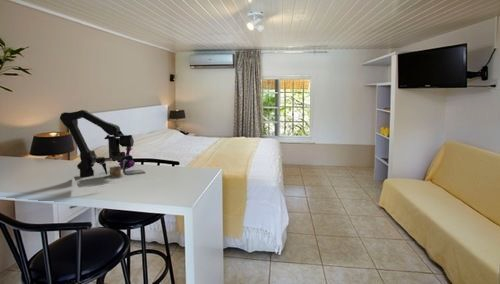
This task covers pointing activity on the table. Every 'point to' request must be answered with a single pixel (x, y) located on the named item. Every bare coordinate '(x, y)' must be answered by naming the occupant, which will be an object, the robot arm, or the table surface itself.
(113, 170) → the walnut cube
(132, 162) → the perfume bottle
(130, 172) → the slate coaster
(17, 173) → the table surface
